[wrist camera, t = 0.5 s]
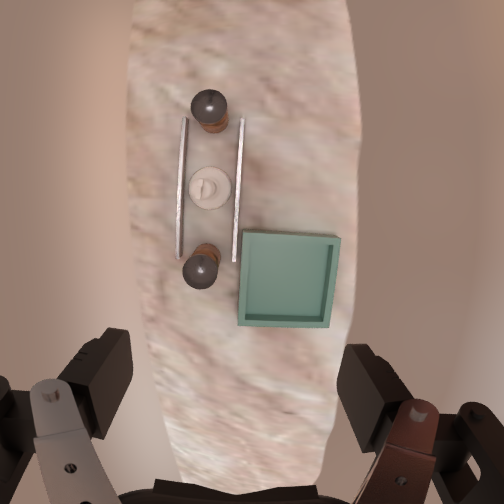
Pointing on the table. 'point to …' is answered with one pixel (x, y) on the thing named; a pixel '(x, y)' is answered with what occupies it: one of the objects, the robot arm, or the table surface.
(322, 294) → the tray
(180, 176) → the rail
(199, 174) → the chess piece
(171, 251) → the table surface
